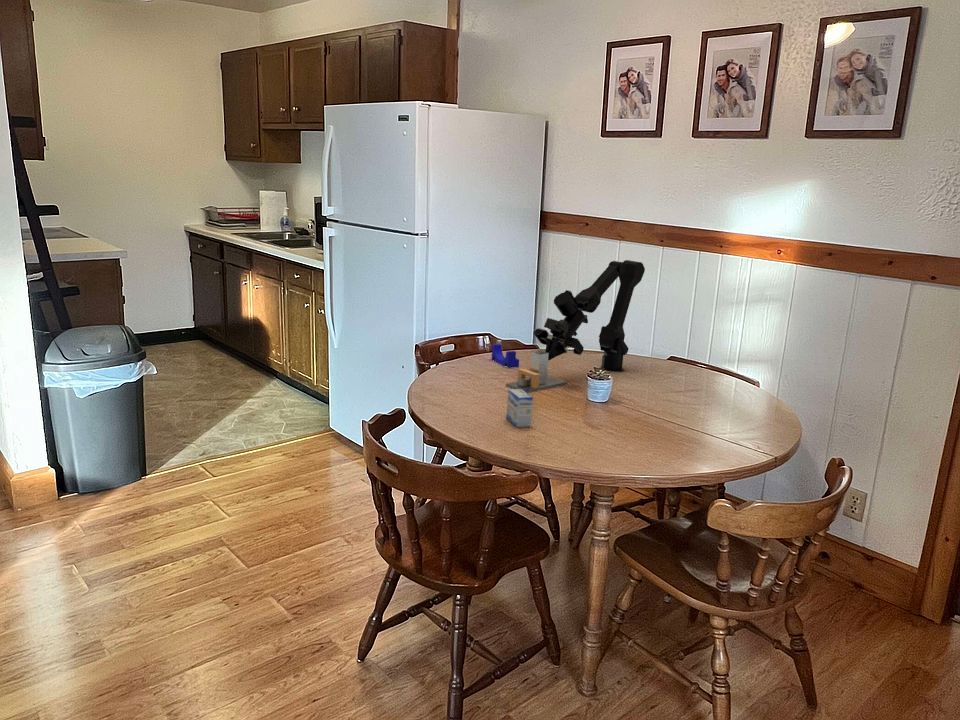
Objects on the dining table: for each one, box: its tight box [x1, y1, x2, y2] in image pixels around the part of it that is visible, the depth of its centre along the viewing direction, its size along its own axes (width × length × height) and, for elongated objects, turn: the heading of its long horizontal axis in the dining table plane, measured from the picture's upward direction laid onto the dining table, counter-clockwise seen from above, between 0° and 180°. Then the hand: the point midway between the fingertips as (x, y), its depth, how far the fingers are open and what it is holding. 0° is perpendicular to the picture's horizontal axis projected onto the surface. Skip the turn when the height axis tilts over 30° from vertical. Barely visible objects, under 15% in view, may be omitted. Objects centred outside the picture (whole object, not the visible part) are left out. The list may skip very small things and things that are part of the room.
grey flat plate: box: [505, 374, 568, 394], centre depth 245 cm, size 19×9×1 cm, turn 130°
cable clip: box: [491, 343, 520, 368], centre depth 269 cm, size 12×4×6 cm, turn 28°
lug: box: [516, 368, 540, 388], centre depth 242 cm, size 2×8×4 cm, turn 40°
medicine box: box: [505, 388, 534, 428], centre depth 208 cm, size 8×4×9 cm, turn 21°
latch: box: [517, 350, 549, 387], centre depth 242 cm, size 10×4×10 cm, turn 130°
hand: (544, 361), depth 245 cm, fingers closed, pressing on latch
